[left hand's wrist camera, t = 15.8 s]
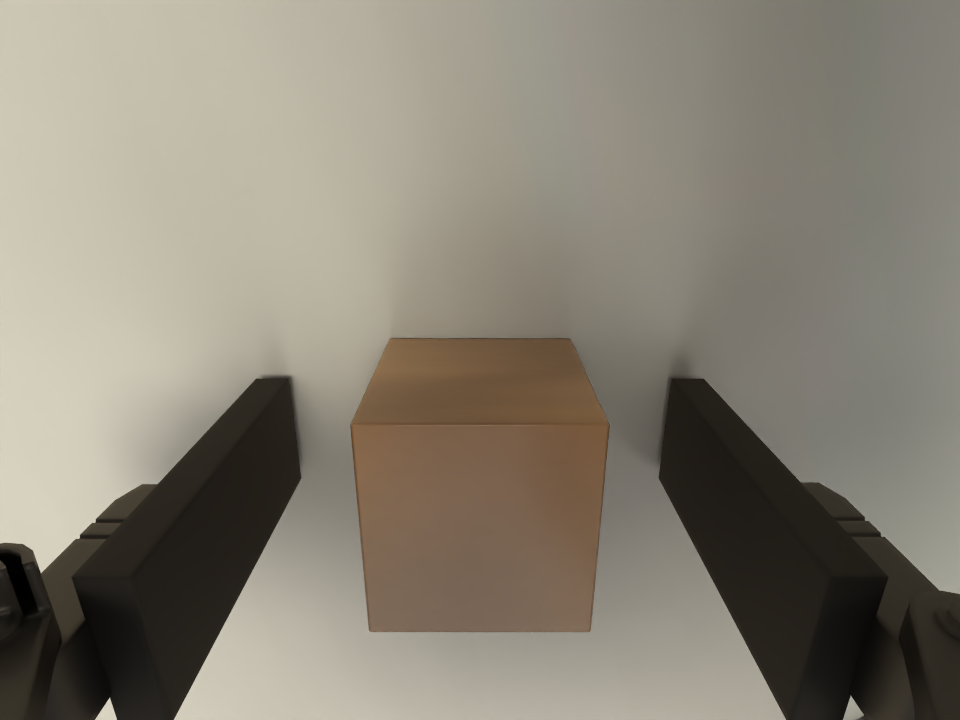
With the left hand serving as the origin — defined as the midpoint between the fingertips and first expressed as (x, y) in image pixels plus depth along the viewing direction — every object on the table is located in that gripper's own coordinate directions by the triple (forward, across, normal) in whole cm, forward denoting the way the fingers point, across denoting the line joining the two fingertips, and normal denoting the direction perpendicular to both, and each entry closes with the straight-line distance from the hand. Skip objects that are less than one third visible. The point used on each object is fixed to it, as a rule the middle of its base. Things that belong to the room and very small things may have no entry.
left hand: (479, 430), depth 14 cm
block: (0, 0, 0) cm, 0 cm away
